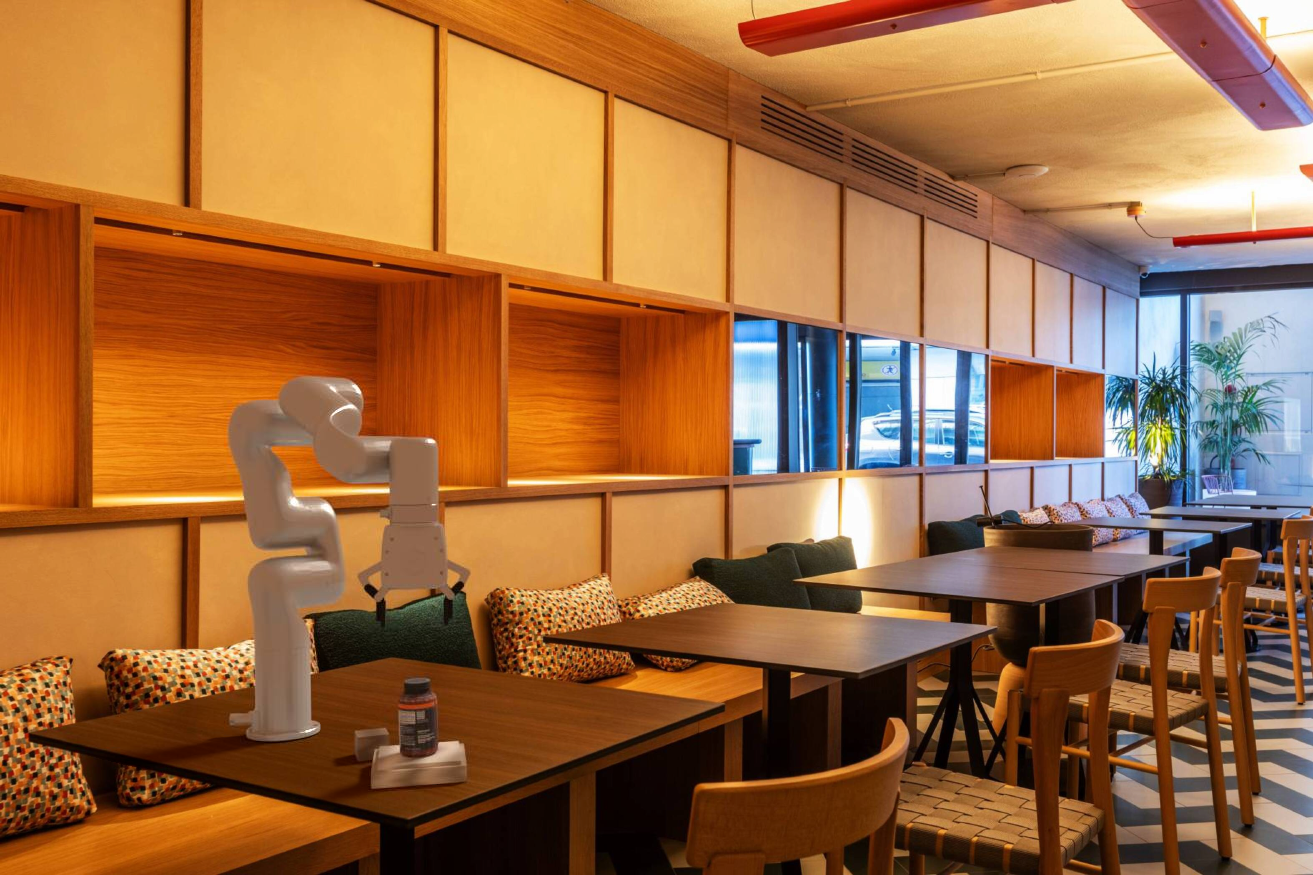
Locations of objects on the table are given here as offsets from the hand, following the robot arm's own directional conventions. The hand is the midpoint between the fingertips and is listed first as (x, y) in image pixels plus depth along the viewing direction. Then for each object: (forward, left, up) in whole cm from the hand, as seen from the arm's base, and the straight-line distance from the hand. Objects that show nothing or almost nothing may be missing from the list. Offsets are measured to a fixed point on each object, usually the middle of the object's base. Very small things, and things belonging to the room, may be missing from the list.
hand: (414, 625), depth 179 cm
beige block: (-7, +11, -23) cm, 27 cm away
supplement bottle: (0, -1, -20) cm, 20 cm away
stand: (0, -1, -23) cm, 23 cm away
